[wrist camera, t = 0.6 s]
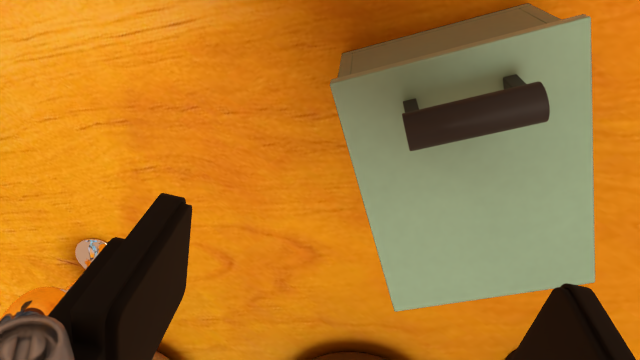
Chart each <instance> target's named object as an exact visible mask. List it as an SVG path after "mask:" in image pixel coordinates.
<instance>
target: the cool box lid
mask: <svg viewBox="0 0 640 360" xmlns="http://www.w3.org/2000/svg"><path fill="white" fill-rule="evenodd" d="M330 87H331V91H332V94H333V98H334V101H335V105H336V108H337V112H338V115H339V119H340V122H341V126H342V129H343V133H344V136H345V140H346V143H347V147H348V150H349V154H350V157H351V161H352V164H353V168H354V171H355V175H356V178H357V182H358V185H359V189H360V192H361V196H362V199H363V203H364V206H365V210H366V213H367V217H368V220H369V223H370V227H371V230H372V234H373V237H374V241H375V244H376V248H377V251H378V255H379V258H380V262H381V265H382V269H383V272H384V276H385V279H386V283H387V286H388V290H389V293H390V297H391V300H392V304H393V307H394V311H403V310H409V309H416V308H423V307H430V306H437V305H444V304H451V303H457V302H464V301H471V300H478V299H485V298H492V297H499V296H505V295H512V294H519V293H526V292H533V291H540V290H547V289H554V288H556V287H561V285H563V284H565V283H569V284H573V285H581V284H588V283H594V282H595V248H594V187H593V126H592V65H591V17H590V16H587V15H585V14H582V15H578V16H574V17H570V18H567V19H563V20H559V21H555V22H551V23H547V24H543V25H540V26H536V27H532V28H528V29H524V30H520V31H517V32H513V33H509V34H505V35H501V36H497V37H493V38H490V39H486V40H482V41H478V42H474V43H470V44H467V45H463V46H459V47H455V48H451V49H447V50H443V51H440V52H436V53H432V54H428V55H424V56H420V57H417V58H413V59H409V60H405V61H401V62H397V63H393V64H390V65H386V66H382V67H378V68H374V69H370V70H367V71H363V72H359V73H355V74H351V75H347V76H343V77H340V78H336V79H332V80H331V82H330Z"/></svg>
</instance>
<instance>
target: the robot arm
mask: <svg viewBox="0 0 640 360" xmlns="http://www.w3.org/2000/svg"><path fill="white" fill-rule="evenodd" d="M191 217H192V206H191V205H187V204H186V201H185V198H183V197H178V196H174V195H169V194H165V193H161V194H160V195H159V196H158V198H157V199H156V200H155V201H154V203H153V204H152V205H151V207H150V208H149V209H148V210H147V212H146V213H145V214H144V216H143V217H142V218H141V219H140V221H139V222H138V223H137V225H136V226H135V227H134V228H133V230H132V231H131V232H130V234H129V235H128V236H127V237H126V239H122V238H117V237H115V238H112V239H111V240H110V241H109V242H108V243H107V244H106V246H105V247H104V248H103V249H102V250H101V252H100V253H99V254H98V255H97V257H96V258H95V259H94V260H93V261H92V263H91V264H90V265H89V266H88V267H87V269H86V270H85V271H84V272H83V274H82V275H81V276H80V277H79V278H78V280H77V281H76V282H75V283H74V284H73V286H72V287H71V288H70V289H69V291H68V292H67V293H66V294H65V295H64V297H63V298H62V299H61V300H60V301H59V303H58V304H57V305H56V306H55V307H54V309H53V310H52V311H51V312H50V314H49V315H48V316H45V315H26V316H20V317H16V318H13V319H10V320H7V321H5V322H2V323H1V324H0V360H152V358H153V356H154V354H155V352H156V350H157V348H158V346H159V344H160V342H161V340H162V338H163V336H164V334H165V332H166V330H167V328H168V326H169V324H170V322H171V320H172V318H173V316H174V314H175V312H176V310H177V308H178V306H179V304H180V302H181V300H182V298H183V295H184V292H185V288H186V278H187V266H188V254H189V242H190V229H191ZM511 360H636V359H635V357H634V356H633V354H632V353H631V351H630V349H629V348H628V346H627V345H626V343H625V342H624V340H623V338H622V337H621V335H620V334H619V332H618V330H617V329H616V327H615V326H614V324H613V322H612V321H611V319H610V318H609V316H608V314H607V313H606V311H605V310H604V308H603V306H602V305H601V303H600V302H599V300H598V298H597V297H596V295H595V294H594V292H593V291H592V290H591V289H589V288H587V287H582V286H578V285H573V284H569V283H565V284H563V285H561V287H556V288H555V289H554V290H553V291H552V292H551V294H550V296H549V297H548V299H547V301H546V302H545V304H544V306H543V307H542V309H541V310H540V312H539V314H538V315H537V317H536V319H535V320H534V322H533V324H532V325H531V327H530V328H529V330H528V332H527V333H526V335H525V337H524V338H523V340H522V342H521V343H520V345H519V347H518V348H517V350H516V351H515V353H514V355H513V357H512V359H511Z"/></svg>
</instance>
